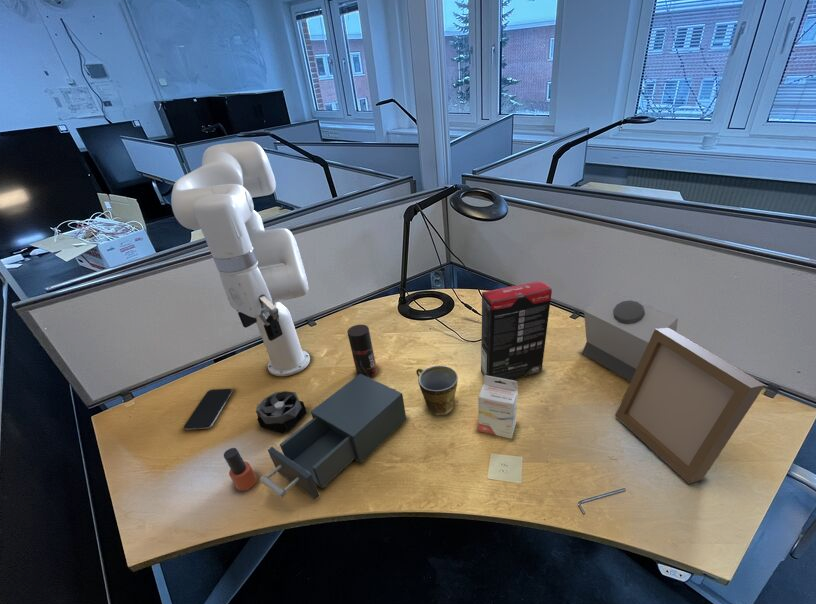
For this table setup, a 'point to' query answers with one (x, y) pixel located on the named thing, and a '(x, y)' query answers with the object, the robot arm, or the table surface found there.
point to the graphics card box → (514, 330)
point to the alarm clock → (621, 331)
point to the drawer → (311, 457)
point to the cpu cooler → (280, 411)
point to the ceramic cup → (438, 388)
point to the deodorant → (362, 350)
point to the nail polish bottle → (239, 470)
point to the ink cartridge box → (497, 406)
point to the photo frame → (685, 402)
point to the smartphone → (208, 409)
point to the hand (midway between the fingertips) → (263, 330)
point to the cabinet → (363, 413)
